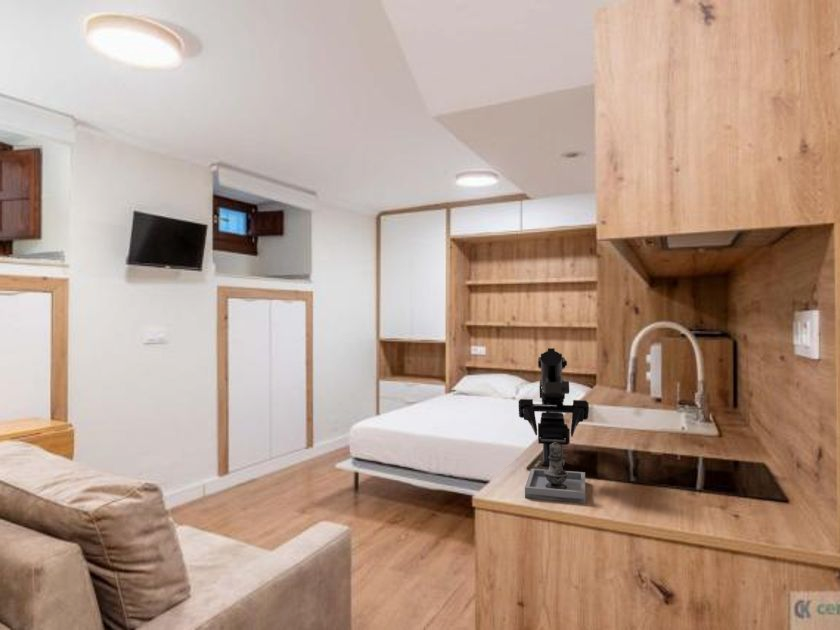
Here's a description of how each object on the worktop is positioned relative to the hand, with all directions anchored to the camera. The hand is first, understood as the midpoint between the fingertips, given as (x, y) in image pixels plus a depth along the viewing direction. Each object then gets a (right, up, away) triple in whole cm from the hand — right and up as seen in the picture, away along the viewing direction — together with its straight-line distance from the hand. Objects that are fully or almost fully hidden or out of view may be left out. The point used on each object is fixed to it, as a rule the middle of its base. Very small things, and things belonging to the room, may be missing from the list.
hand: (554, 435), depth 136 cm
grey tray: (-1, -12, -6) cm, 14 cm away
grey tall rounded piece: (-1, -12, -7) cm, 14 cm away
